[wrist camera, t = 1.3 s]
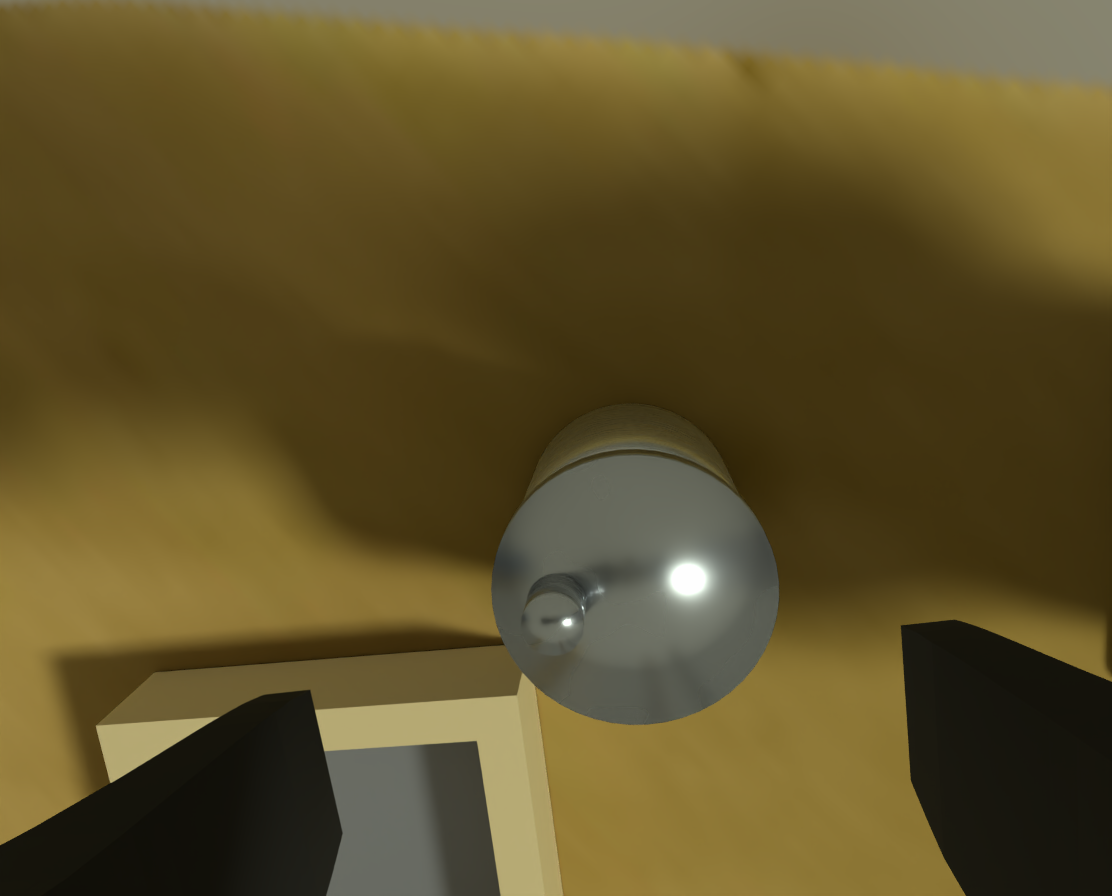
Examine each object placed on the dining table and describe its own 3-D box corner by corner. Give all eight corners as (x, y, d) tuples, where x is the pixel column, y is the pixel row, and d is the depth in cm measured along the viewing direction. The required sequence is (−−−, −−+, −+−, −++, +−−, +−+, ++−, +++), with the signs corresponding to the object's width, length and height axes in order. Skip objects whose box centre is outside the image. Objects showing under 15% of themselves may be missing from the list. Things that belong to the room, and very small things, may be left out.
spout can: (728, 388, 19) (780, 456, 13) (743, 591, 20) (799, 747, 14) (513, 410, 20) (461, 487, 13) (539, 608, 21) (503, 766, 14)
